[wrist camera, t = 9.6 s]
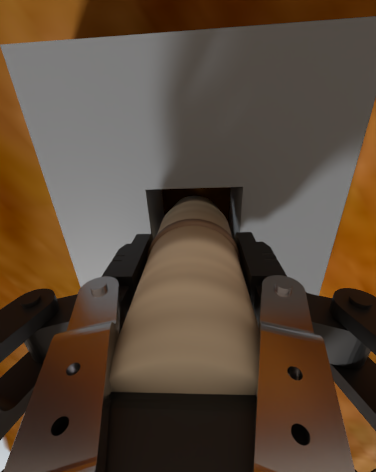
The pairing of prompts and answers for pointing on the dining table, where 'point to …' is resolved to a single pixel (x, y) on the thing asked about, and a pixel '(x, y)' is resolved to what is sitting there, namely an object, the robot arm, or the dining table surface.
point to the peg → (189, 312)
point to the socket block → (201, 131)
